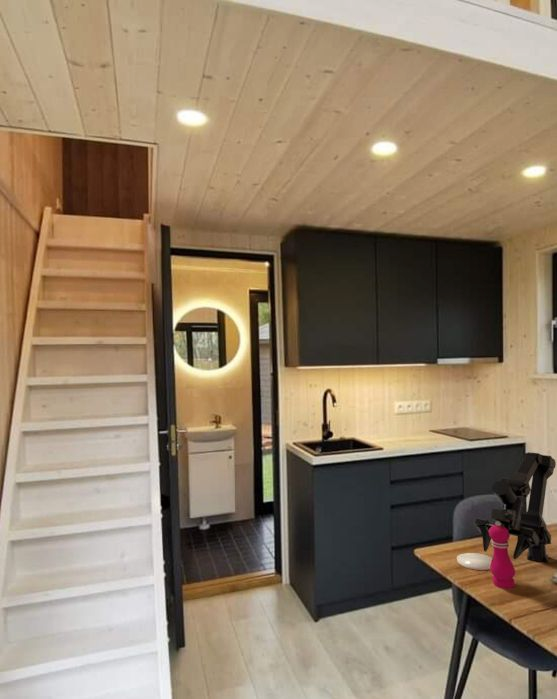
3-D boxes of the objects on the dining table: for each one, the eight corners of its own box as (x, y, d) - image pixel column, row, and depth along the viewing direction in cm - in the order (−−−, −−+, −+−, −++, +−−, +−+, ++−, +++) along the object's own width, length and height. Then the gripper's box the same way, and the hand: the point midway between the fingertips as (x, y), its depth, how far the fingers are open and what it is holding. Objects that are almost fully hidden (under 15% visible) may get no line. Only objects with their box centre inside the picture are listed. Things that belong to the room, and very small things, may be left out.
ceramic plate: (460, 552, 164) (460, 550, 164) (497, 558, 158) (497, 556, 158) (454, 566, 153) (453, 563, 153) (494, 572, 147) (494, 570, 147)
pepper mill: (509, 591, 133) (503, 525, 135) (487, 583, 139) (481, 520, 141) (520, 584, 138) (514, 520, 139) (498, 577, 143) (492, 515, 145)
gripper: (473, 494, 150) (461, 534, 142) (531, 503, 136) (521, 549, 128) (486, 511, 155) (474, 552, 147) (543, 522, 140) (534, 568, 132)
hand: (499, 554), depth 138 cm, fingers open, 9 cm apart
